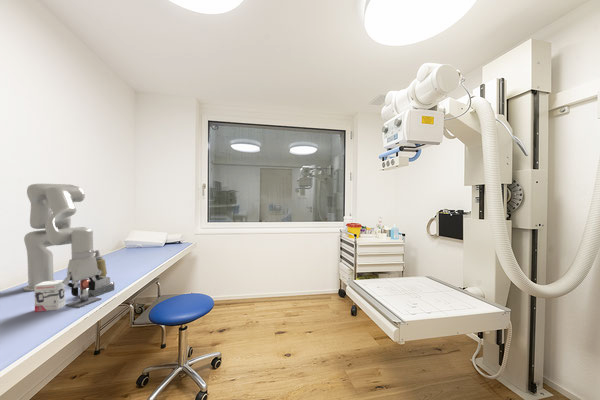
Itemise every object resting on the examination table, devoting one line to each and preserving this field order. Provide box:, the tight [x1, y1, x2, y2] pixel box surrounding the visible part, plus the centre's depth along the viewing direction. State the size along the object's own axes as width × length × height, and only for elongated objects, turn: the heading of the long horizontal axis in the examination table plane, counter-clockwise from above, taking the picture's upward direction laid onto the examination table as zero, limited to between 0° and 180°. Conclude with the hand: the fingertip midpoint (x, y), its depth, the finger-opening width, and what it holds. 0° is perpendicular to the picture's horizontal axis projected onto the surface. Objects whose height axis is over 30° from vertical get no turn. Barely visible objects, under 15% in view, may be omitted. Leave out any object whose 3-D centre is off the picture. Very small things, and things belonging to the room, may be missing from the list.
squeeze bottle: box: [94, 249, 108, 277], centre depth 140 cm, size 8×8×18 cm
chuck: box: [78, 276, 115, 297], centre depth 124 cm, size 10×13×7 cm
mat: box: [65, 296, 102, 309], centre depth 111 cm, size 9×9×1 cm
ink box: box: [34, 279, 66, 313], centre depth 105 cm, size 8×5×12 cm, turn 103°
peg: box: [79, 278, 89, 302], centre depth 111 cm, size 3×3×10 cm
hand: (83, 292), depth 111 cm, fingers open, 6 cm apart
